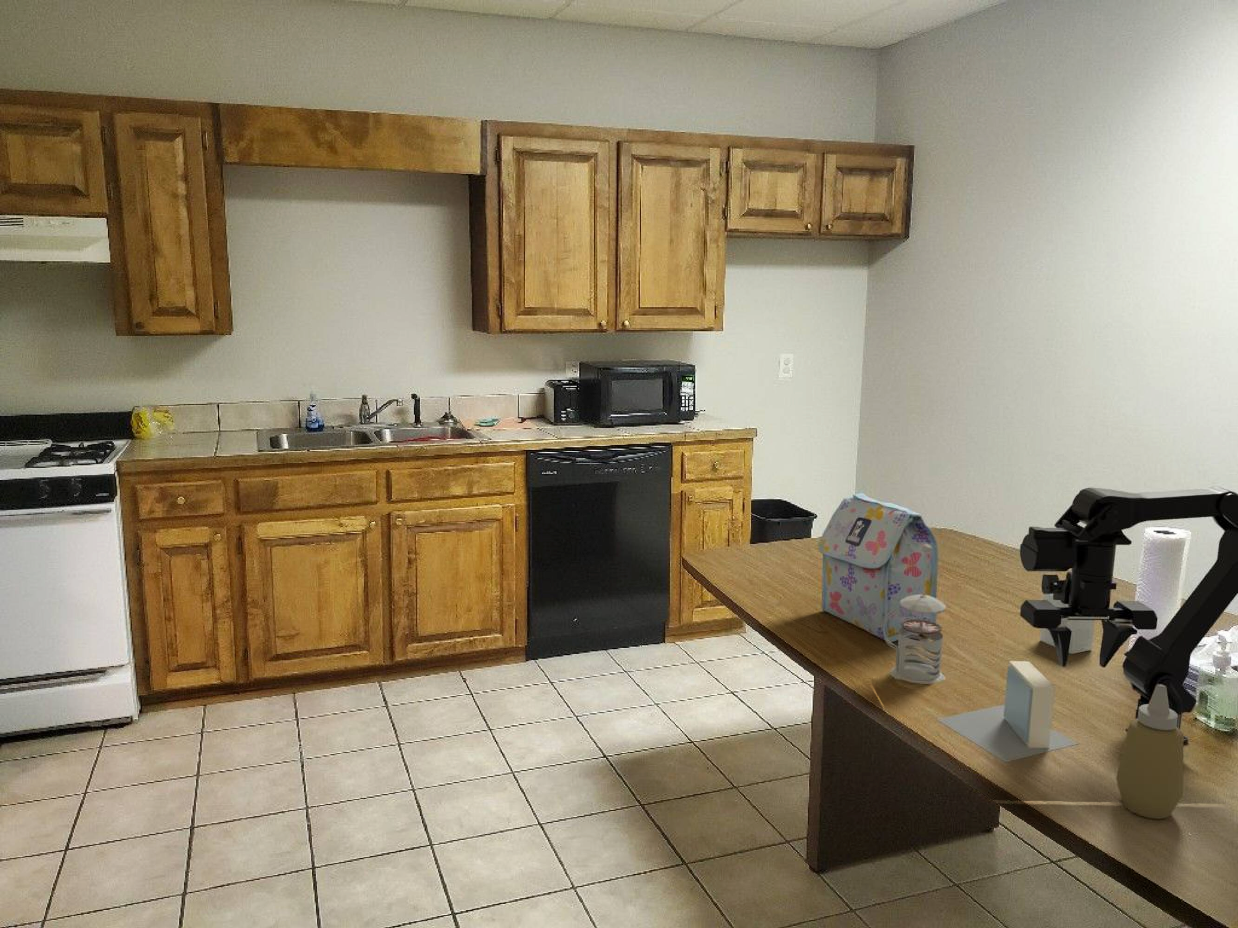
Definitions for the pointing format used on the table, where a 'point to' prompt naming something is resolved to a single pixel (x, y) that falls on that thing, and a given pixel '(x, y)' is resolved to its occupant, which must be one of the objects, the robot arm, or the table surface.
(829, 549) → the lunch bag
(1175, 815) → the table surface
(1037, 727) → the tile
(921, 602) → the french press
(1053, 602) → the small box
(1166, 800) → the squeeze bottle
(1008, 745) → the mat
